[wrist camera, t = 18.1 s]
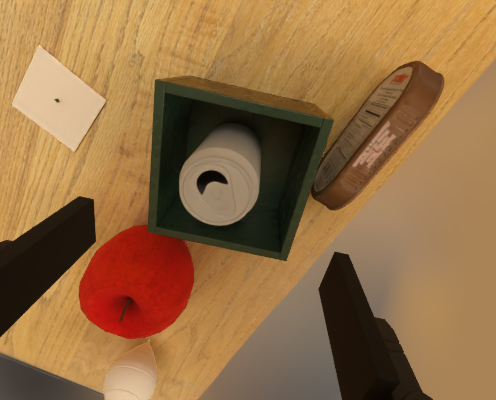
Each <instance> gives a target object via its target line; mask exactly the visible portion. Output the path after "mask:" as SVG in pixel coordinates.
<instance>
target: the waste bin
mask: <svg viewBox="0 0 496 400" xmlns="http://www.w3.org/2000/svg"><path fill="white" fill-rule="evenodd" d="M333 122H334V120H333V119H332V118H331V117H330V116H328V115H327V114H326V113H325V112H324V111H322V110H321V109H320V108H319V107H317V106H316V105H315V104H311V103H307V102H303V101H298V100H294V99H290V98H285V97H281V96H276V95H272V94H268V93H263V92H259V91H255V90H250V89H246V88H241V87H237V86H233V85H228V84H224V83H220V82H215V81H211V80H206V79H202V78H198V77H193V76H182V77H173V78H164V79H156V80H155V92H154V112H153V132H152V152H151V172H150V192H149V213H148V232H151V233H156V234H160V235H164V236H169V237H174V238H179V239H183V240H188V241H193V242H198V243H202V244H207V245H212V246H217V247H221V248H226V249H231V250H236V251H240V252H245V253H250V254H255V255H260V256H264V257H269V258H274V259H279V260H283V261H287V258H288V255H289V252H290V249H291V246H292V243H293V240H294V237H295V234H296V231H297V228H298V225H299V222H300V219H301V217H302V214H303V211H304V208H305V205H306V202H307V199H308V196H309V193H310V190H311V187H312V184H313V181H314V178H315V175H316V172H317V169H318V166H319V164H320V161H321V158H322V155H323V152H324V149H325V146H326V143H327V140H328V137H329V134H330V131H331V128H332V125H333ZM225 123H239V124H242V125H245V126H247V127H248V128H250V129H251V130H252V131H253V132H254V133H255V134H256V135H257V137H258V139H259V141H260V144H261V148H262V157H261V170H260V184H259V194H258V198H257V200H256V202H255V204H254V206H253V207H252V208H251V210H250V211H249V212H248V213H247V214H246V215H245V216H244V217H243V218H241V219H240V220H238V221H237V222H234V223H232V224H228V225H222V226H218V225H210V224H207V223H204V222H202V221H200V220H198V219H196V218H195V217H194V216H192V215H191V214H190V213H189V212H188V211H187V209H186V208H185V207H184V205H183V203H182V201H181V198H180V193H179V177H180V172H181V169H182V167H183V165H184V163H185V162H186V161H187V160H188V158H189V157H190V156H191V155H192V154H193V153H194V151H195V150H196V149H197V148H198V147H199V146H200V144H201V143H202V142H203V141H204V140H205V139H206V137H207V136H208V135H209V134H210V133H211V132H212V130H214V129H215V128H216V127H218V126H220V125H222V124H225Z"/></svg>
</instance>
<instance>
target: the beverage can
mask: <svg viewBox="0 0 496 400" xmlns="http://www.w3.org/2000/svg"><path fill="white" fill-rule="evenodd" d="M261 157H262V148H261V144H260V141H259V139H258V137H257V135H256V134H255V133H254V132H253V131H252V130H251V129H250V128H248V127H247V126H245V125H242V124H239V123H225V124H222V125H220V126H218V127H216V128H215V129H214V130H212V132H211V133H210V134H209V135H208V136H207V137H206V139H205V140H204V141H203V142H202V143H201V144H200V146H199V147H198V148H197V149H196V150H195V151H194V153H193V154H192V155H191V156H190V157H189V158H188V160H187V161H186V162H185V163H184V165H183V167H182V169H181V172H180V177H179V193H180V198H181V201H182V203H183V205H184V207H185V208H186V209H187V211H188V212H189V213H190V214H191V215H192V216H194V217H195V218H196V219H198V220H200V221H202V222H204V223H207V224H210V225H218V226H222V225H228V224H232V223H234V222H237V221H238V220H240V219H241V218H243V217H244V216H245V215H246V214H247V213H248V212H249V211H250V210H251V208H252V207H253V206H254V204H255V202H256V200H257V198H258V194H259V184H260V170H261Z"/></svg>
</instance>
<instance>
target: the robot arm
mask: <svg viewBox="0 0 496 400" xmlns="http://www.w3.org/2000/svg"><path fill="white" fill-rule="evenodd" d="M95 242H96V234H95V216H94V199H90V198H85V197H80V196H79V197H77V198H76V199H74V200H73V201H71V202H70V203H69V204H67V205H66V206H64V207H63V208H61V209H60V210H58V211H57V212H55V213H54V214H52V215H51V216H49V217H48V218H46V219H45V220H43V221H42V222H40V223H39V224H38V225H36V226H35V227H33V228H32V229H30V230H29V231H27V232H26V233H24V234H23V235H21V236H20V237H18V238H17V239H15V240H14V241H9V240H5V241H3V242H0V337H1V336H2V335H3V334H4V333H5V332H6V331H7V330H8V329H9V328H10V327H11V326H12V325H13V324H14V323H15V322H16V321H17V320H18V319H19V318H20V317H21V316H22V315H23V314H24V313H25V312H26V311H27V310H28V309H29V308H30V307H31V306H32V305H33V304H34V303H35V302H36V301H37V300H38V299H39V298H40V297H41V296H42V295H43V294H44V293H45V292H46V291H47V290H48V289H49V288H50V287H51V286H52V285H53V284H54V283H55V282H56V281H57V280H58V279H59V278H60V277H61V276H62V275H63V274H64V273H65V272H66V271H67V270H68V269H69V268H70V267H71V266H72V265H73V264H74V263H75V262H76V261H77V260H78V259H79V258H80V257H81V256H82V255H83V254H84V253H85V252H86V251H87V250H88V249H89V248H90V247H91V246H92V245H93V244H94V243H95ZM319 294H320V298H321V303H322V307H323V312H324V317H325V322H326V326H327V331H328V336H329V340H330V345H331V349H332V354H333V359H334V364H335V369H336V373H337V378H338V382H339V387H340V392H341V396H342V400H433V399H432V398H431V397H429V396H427V395H426V394H424V393H423V392H422V390H421V388H420V386H419V383H418V381H417V379H416V377H415V375H414V373H413V370H412V368H411V366H410V364H409V362H408V360H407V358H406V356H405V354H404V353H403V352H404V351H403V349H402V347H401V345H400V344H399V340H398V338H397V336H396V334H395V332H394V330H393V329H392V328H391V326H390V325H389V324H388V323H387V322H386V320H385V319H381V318H376V317H374V315H373V313H372V311H371V308H370V306H369V303H368V301H367V298H366V296H365V294H364V291H363V289H362V286H361V284H360V281H359V279H358V277H357V274H356V272H355V269H354V267H353V264H352V262H351V260H350V257H349V255H348V254H343V253H338V252H334V255H333V257H332V259H331V261H330V264H329V266H328V268H327V271H326V273H325V275H324V278H323V280H322V282H321V284H320V287H319Z"/></svg>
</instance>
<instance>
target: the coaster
mask: <svg viewBox="0 0 496 400" xmlns="http://www.w3.org/2000/svg"><path fill="white" fill-rule="evenodd" d="M105 102H106V100H105V99H104V98H103V97H102V96H100V95H99V94H98V93H97V92H95V91H94V90H93V89H92V88H91V87H89V86H88V85H87V84H86V83H85V82H83V81H82V80H81V79H80V78H79V77H77V76H76V75H75V74H74V73H72V72H71V71H70V70H69V69H68V68H66V67H65V66H64V65H63V64H62V63H60V62H59V61H58V60H57V59H56V58H54V57H53V56H52V55H51V54H49V53H48V52H47V51H46V50H45V49H43V48H42V47H41V46H40V45H39V46H38V48H37V50H36V52H35V54H34V57H33V59H32V61H31V63H30V65H29V67H28V70H27V72H26V74H25V76H24V78H23V80H22V83H21V85H20V87H19V89H18V91H17V94H16V96H15V98H14V100H13V102H12V104H11V105H12V106H13V107H15V108H16V109H17V110H19V111H20V112H21V113H23V114H24V115H25V116H27V117H28V118H30V119H31V120H32V121H34V122H35V123H36V124H38V125H39V126H40V127H42V128H43V129H44V130H46V131H47V132H48V133H50V134H51V135H52V136H54V137H55V138H56V139H58V140H59V141H60V142H62V143H63V144H64V145H66V146H67V147H68V148H70V149H71V150H72V151H74V152H75V150H76V149H77V147H78V146H79V144H80V142H81V141H82V139H83V137H84V136H85V134H86V133H87V131H88V129H89V128H90V126H91V125H92V123H93V121H94V120H95V118H96V116H97V115H98V113H99V112H100V110H101V108H102V107H103V105H104V104H105Z"/></svg>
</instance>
